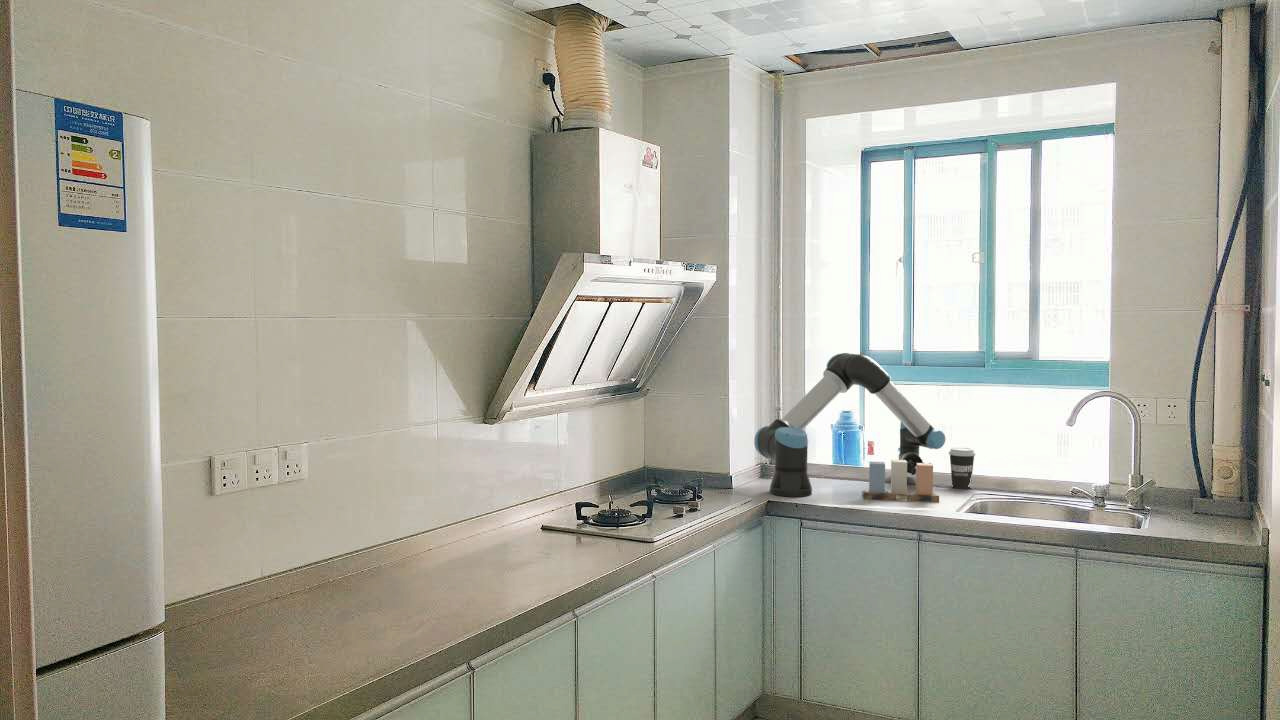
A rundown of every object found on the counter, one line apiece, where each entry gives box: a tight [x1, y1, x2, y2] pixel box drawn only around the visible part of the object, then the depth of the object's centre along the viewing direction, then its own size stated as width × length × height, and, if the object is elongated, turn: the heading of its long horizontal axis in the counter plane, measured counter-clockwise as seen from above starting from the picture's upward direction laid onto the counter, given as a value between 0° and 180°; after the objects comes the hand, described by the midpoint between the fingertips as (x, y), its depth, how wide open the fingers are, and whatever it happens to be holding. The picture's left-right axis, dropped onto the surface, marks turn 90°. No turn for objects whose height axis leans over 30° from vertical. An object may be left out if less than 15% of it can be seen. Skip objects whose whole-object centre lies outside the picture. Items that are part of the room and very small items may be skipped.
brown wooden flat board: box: [861, 490, 940, 503], centre depth 320 cm, size 25×15×3 cm, turn 79°
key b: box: [890, 459, 908, 494], centre depth 322 cm, size 5×5×12 cm
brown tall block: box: [915, 462, 934, 495], centre depth 315 cm, size 5×5×12 cm
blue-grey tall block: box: [868, 461, 886, 493], centre depth 318 cm, size 5×5×12 cm
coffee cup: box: [948, 446, 976, 489], centre depth 340 cm, size 10×10×15 cm
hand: (919, 472), depth 329 cm, fingers closed
